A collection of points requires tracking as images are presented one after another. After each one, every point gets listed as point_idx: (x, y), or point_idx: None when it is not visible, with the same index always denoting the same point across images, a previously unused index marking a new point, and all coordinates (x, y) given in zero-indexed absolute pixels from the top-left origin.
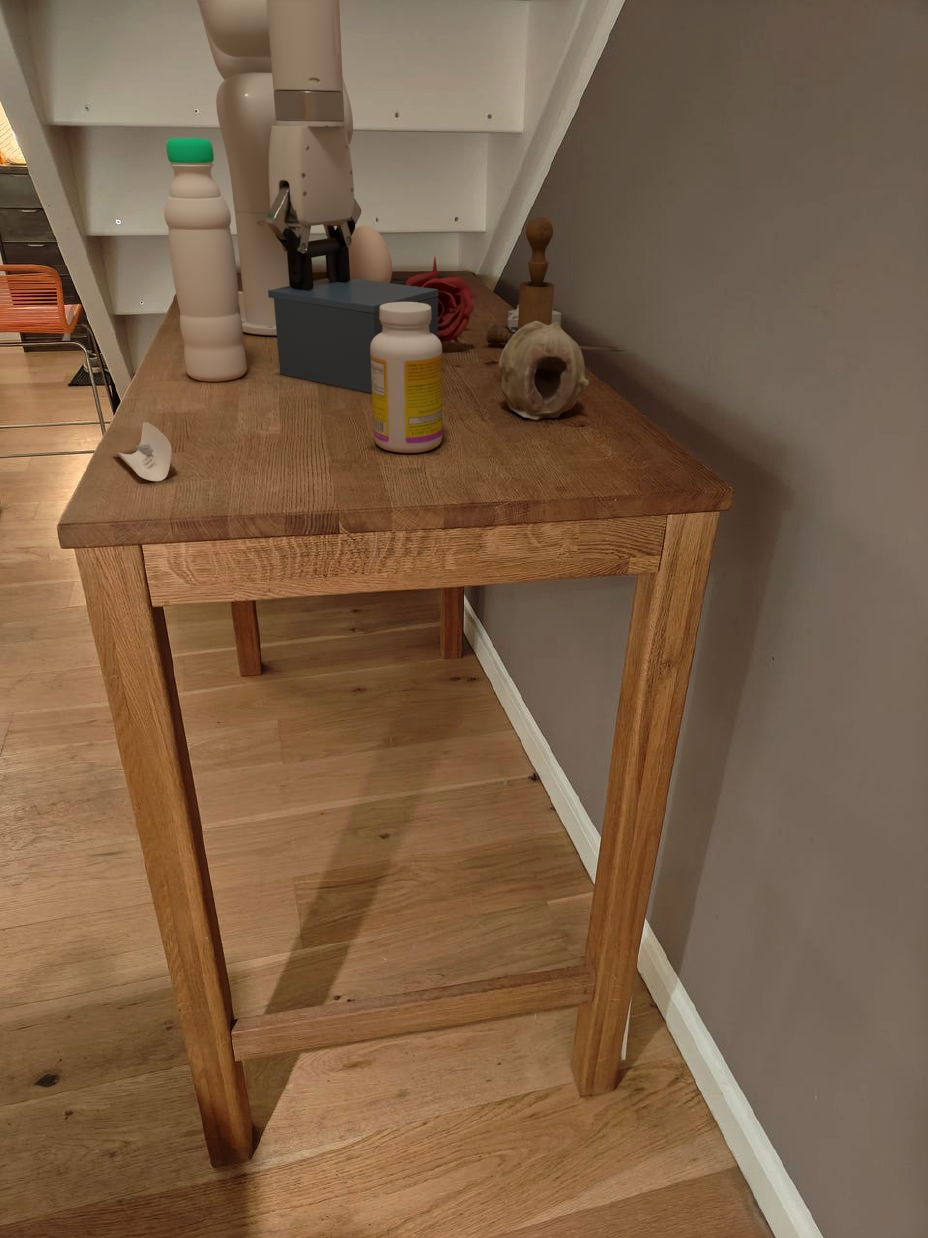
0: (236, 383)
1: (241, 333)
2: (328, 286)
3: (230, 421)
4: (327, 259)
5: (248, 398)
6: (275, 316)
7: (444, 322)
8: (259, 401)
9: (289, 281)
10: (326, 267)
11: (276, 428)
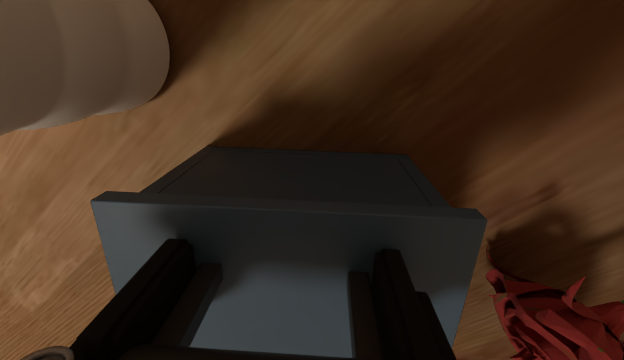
0: (110, 120)
1: (88, 116)
2: (281, 306)
3: (2, 243)
4: (388, 310)
5: (77, 196)
6: (144, 189)
7: (517, 348)
8: (82, 218)
9: (161, 246)
10: (383, 277)
11: (38, 299)
